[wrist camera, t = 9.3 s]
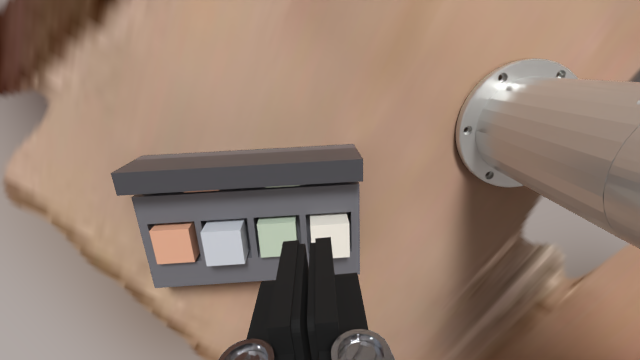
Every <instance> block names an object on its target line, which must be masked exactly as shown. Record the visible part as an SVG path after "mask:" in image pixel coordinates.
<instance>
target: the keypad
mask: <svg viewBox="0 0 640 360" xmlns="http://www.w3.org/2000/svg"><path fill="white" fill-rule="evenodd" d="M111 176H112V179H113V183H114V186H115V190H116V194H117V196H119V195H134V196H133V197H132V201H133V205H134V209H135V213H136V217H137V221H138V224H139V228H140V232H141V236H142V240H143V244H144V248H145V251H146V255H147V259H148V263H149V267H150V271H151V275H152V279H153V282H154V286H155V288H162V287H177V286H192V285H207V284H222V283H237V282H252V281H267V280H276V276H277V271H278V265H279V260H280V256H278V257H263V258H261V254H260V246H259V237H258V229H257V223H258V219H259V217H274V216H290V215H296V220H297V233H298V240H299V243H300V244H305V245H306V252H307V259H308V267H309V248H310V243H311V230H310V214H325V213H342V212H346V214H347V217H348V221H349V235H350V257H343V258H333V263H334V272H335V274H346V273H356V272H357V274H360V219H359V182H358V181H363V158H362V157H361V155H360V154H359V152H358V150H357V149H356V147H355V145H354V144H346V145H327V146H309V147H291V148H273V149H255V150H237V151H219V152H201V153H183V154H165V155H147V156H141V157H139V158H137V159H135V160H134V161H132V162H130V163H128V164H126V165H125V166H123V167H121V168H119V169H118V170H116V171H114V172H112V173H111ZM244 218H245V225H246V232H247V239H248V247H249V252H248V255H247V259H246V262H245V264H236V265H220V266H207V265H206V260H205V254H204V249H203V244H202V239H201V233H200V232H201V231H202V229H203V228H204V226H205V224H206V223H207V221H211V220H228V219H244ZM192 221H194V224H195V229H196V234H197V239H198V244H199V249H200V253H199V255H198V257H197V259H196V261H195V262H186V263H170V264H157V261H156V257H155V253H154V249H153V245H152V241H151V237H150V233H149V231H150V230H151V229H152V228H153V227H154V225H155V224H160V223H176V222H192Z"/></svg>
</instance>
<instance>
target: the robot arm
mask: <svg viewBox="0 0 640 360" xmlns="http://www.w3.org/2000/svg"><path fill="white" fill-rule="evenodd" d="M499 76H500V78H499V79H498V77H499ZM465 127H466V130H465V131H464V128H465ZM456 145H457V149H458V153H459V155H460V157H461V159H462V161H463V163H464V165H465V166H466V167H467V168H468V170H469V171H470V172H471V173H473V174H474V175H475V176H477V177H478V178H479V179H481V180H483V181H484V182H486V183H489V184H492V185H495V186H499V187H507V188H509V187H520V186H526V187H528V188H530V189H531V190H533V191H535V192H537V193H539V194H540V195H542V196H544V197H546V198H548V199H549V200H551V201H553V202H555V203H557V204H559V205H560V206H562V207H564V208H566V209H568V210H569V211H571V212H573V213H575V214H577V215H578V216H580V217H582V218H584V219H586V220H587V221H589V222H591V223H593V224H595V225H597V226H598V227H600V228H602V229H604V230H606V231H608V232H609V233H611V234H613V235H615V236H617V237H618V238H620V239H622V240H624V241H626V242H628V243H630V244H632V245H634V246H635V247H637V248H639V249H640V82H625V81H606V80H588V79H578V78H577V76H576V75H575V74H574V73H573V72H572V71H571V70H569V69H568V68H567V67H565V66H563V65H561V64H560V63H558V62H554V61H551V60H547V59H522V60H518V61H514V62H510V63H508V64H505V65H503V66H501V67H499V68H497V69H495V70H494V71H492V72H491V73H489V74H488V75H487V76H485V77H484V78H483V79H482V80H481V81H480V82H479V83H478V84H477V85H476V86H475V87H474V89H473V90H472V91H471V93H470V94H469V95H468V97H467V98H466V100H465V102H464V104H463V106H462V108H461V111H460V114H459V117H458V120H457V126H456ZM486 173H487V174H486ZM219 360H395V359H394V356H393V354H392V352H391V350H390V347H389V345H388V344H387V342H386V341H385V339H384V338H382V337H381V336H380V335H379V334H377V333H375V332H373V331H370V330H368V326H367V321H366V315H365V310H364V305H363V300H362V295H361V290H360V285H359V280H358V275H357V272H356V273H346V274H335V272H334V263H333V253H332V244H331V237H324V238H315V243H310V248H309V267H308V259H307V252H306V245H305V244H300V243H299V240H294V241H284V242H283V244H282V249H281V254H280V260H279V265H278V271H277V276H276V280H271V281H262V282H261V285H260V288H259V292H258V296H257V300H256V304H255V308H254V312H253V316H252V320H251V324H250V328H249V332H248V336H247V339H246V340H243V341H240V342H237V343H235V344H234V345H232V346H230V347H229V348H228V349H227V350H226V351H225V352H224V353H223V354H222V355H221V357H220V358H219Z"/></svg>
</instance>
